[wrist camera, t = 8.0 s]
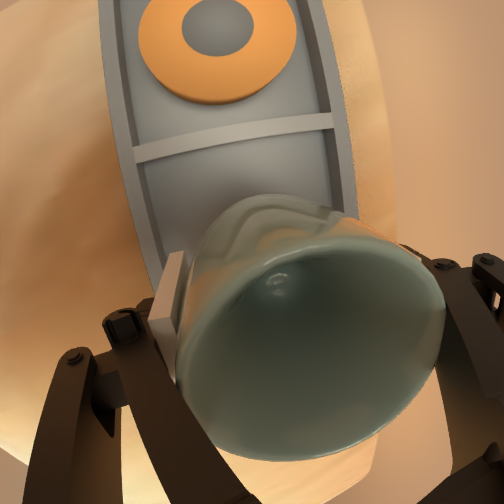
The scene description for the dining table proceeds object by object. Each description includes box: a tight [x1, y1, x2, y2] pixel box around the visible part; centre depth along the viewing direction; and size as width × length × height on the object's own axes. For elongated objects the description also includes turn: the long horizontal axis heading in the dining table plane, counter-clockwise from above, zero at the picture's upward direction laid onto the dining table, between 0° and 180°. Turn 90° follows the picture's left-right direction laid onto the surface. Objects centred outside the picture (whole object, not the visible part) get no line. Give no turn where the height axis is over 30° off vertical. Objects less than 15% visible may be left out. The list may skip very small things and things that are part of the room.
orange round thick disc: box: [138, 0, 297, 105], centre depth 15 cm, size 9×9×3 cm
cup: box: [175, 193, 447, 462], centre depth 12 cm, size 8×8×10 cm
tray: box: [98, 0, 359, 295], centre depth 18 cm, size 27×14×2 cm, turn 10°
